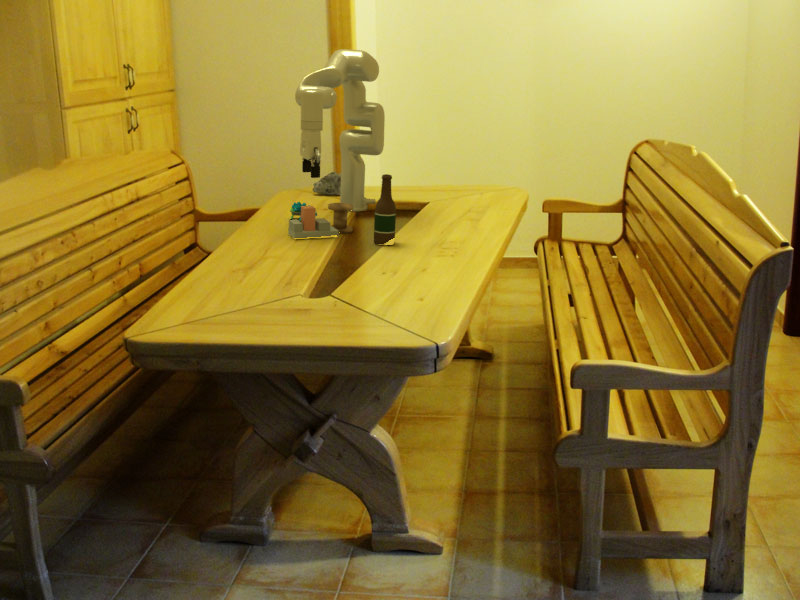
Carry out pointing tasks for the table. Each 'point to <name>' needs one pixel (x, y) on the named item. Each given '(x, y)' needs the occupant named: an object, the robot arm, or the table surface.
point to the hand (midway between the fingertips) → (311, 174)
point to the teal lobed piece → (298, 210)
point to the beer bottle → (385, 213)
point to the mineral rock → (328, 184)
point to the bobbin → (341, 216)
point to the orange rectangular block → (308, 218)
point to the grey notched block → (320, 230)
